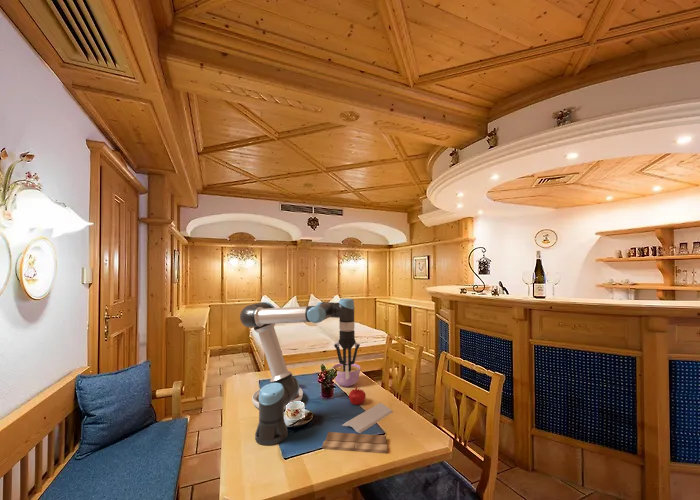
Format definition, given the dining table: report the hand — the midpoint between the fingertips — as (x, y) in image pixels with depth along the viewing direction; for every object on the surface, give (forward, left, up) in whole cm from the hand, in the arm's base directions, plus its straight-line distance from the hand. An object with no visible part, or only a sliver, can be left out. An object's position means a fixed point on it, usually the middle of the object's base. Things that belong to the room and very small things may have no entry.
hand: (347, 377), depth 156 cm
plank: (+5, -7, -26) cm, 27 cm away
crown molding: (+9, +16, -27) cm, 33 cm away
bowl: (-47, +30, -27) cm, 62 cm away
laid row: (+5, -13, -26) cm, 30 cm away
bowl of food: (-10, +62, -27) cm, 68 cm away
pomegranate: (+1, +34, -27) cm, 43 cm away
